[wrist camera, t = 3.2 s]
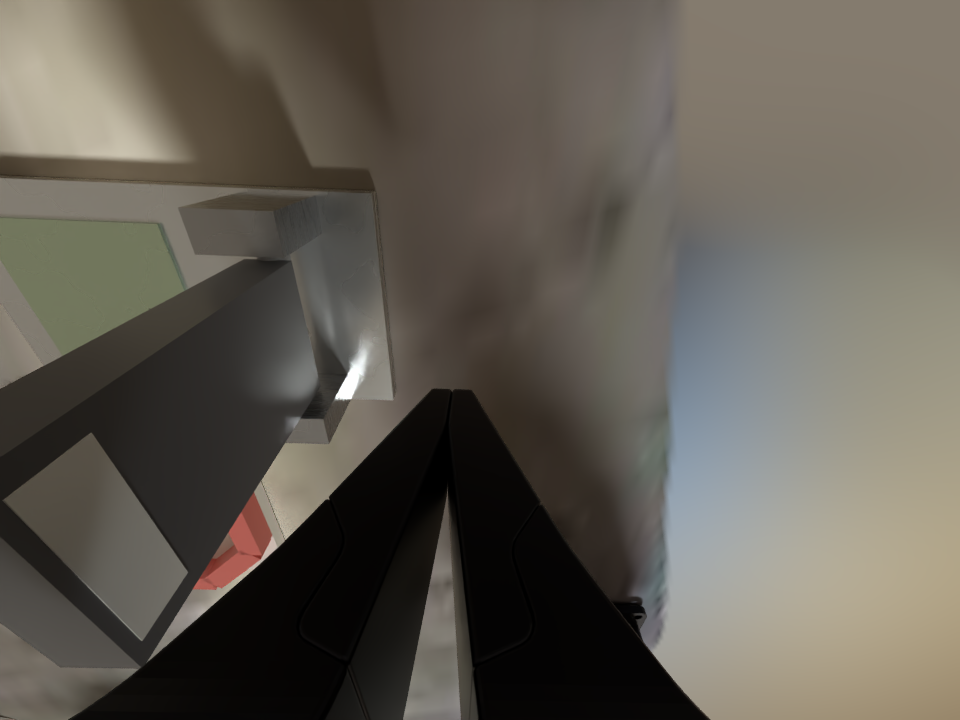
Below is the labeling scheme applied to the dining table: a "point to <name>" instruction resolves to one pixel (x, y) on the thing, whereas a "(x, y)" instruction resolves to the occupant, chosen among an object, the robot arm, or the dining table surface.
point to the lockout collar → (244, 543)
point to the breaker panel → (198, 268)
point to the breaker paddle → (144, 461)
